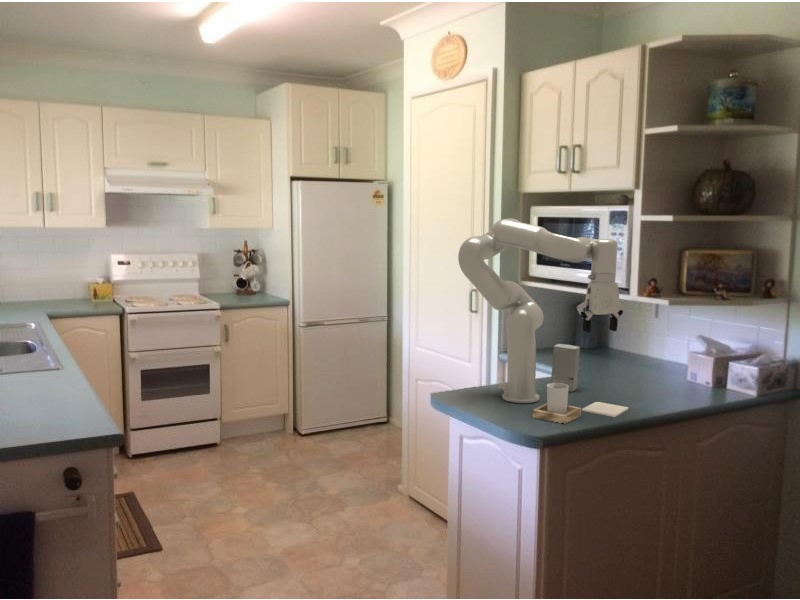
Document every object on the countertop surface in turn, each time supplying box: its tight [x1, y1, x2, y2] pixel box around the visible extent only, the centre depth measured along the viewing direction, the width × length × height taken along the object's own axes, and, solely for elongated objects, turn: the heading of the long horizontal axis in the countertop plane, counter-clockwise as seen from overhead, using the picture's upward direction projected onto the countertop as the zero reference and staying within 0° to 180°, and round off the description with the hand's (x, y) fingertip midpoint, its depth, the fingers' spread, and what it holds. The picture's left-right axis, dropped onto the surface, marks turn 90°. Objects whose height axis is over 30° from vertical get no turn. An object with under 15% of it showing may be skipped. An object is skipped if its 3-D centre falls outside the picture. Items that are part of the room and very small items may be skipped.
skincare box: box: [550, 343, 581, 393], centre depth 256 cm, size 8×7×16 cm
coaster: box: [581, 401, 629, 418], centre depth 231 cm, size 11×11×1 cm
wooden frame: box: [532, 402, 582, 425], centre depth 224 cm, size 11×11×2 cm
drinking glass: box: [546, 382, 569, 415], centre depth 224 cm, size 7×7×10 cm
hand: (599, 331), depth 230 cm, fingers open, 9 cm apart
